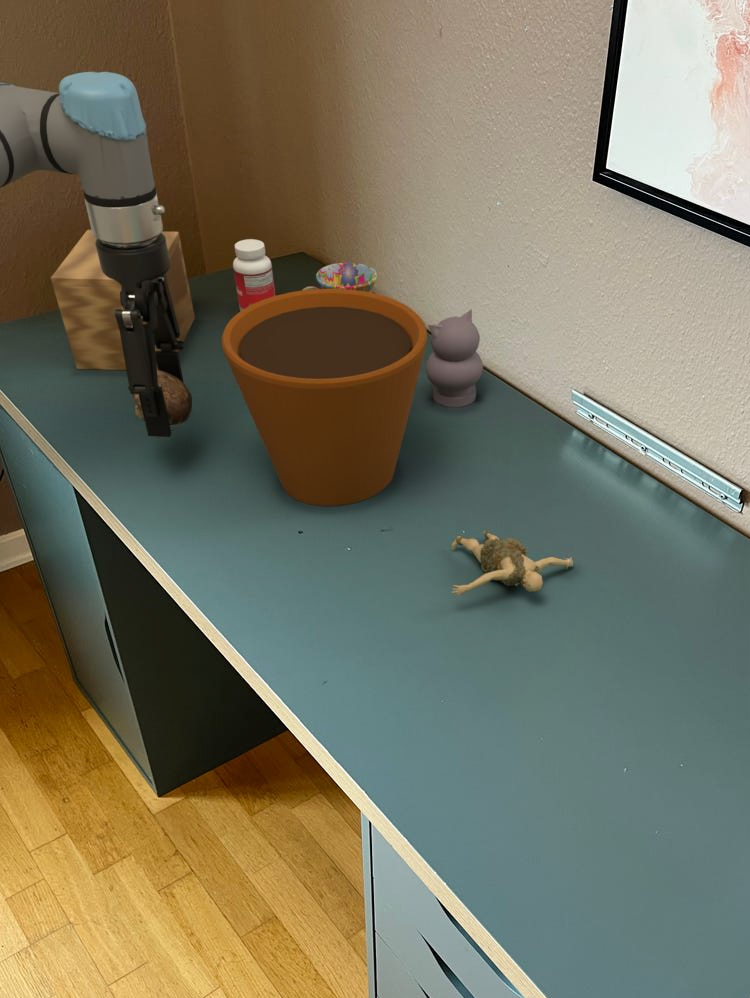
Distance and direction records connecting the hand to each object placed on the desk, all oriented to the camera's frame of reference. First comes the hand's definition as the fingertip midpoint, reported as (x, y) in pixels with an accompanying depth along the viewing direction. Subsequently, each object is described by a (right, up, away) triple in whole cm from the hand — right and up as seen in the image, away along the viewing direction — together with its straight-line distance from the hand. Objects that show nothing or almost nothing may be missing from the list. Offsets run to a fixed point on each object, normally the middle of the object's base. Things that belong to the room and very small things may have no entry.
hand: (168, 416), depth 121 cm
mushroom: (0, 0, 0) cm, 1 cm away
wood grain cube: (-14, +19, +29) cm, 37 cm away
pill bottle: (+3, +26, +38) cm, 47 cm away
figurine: (+42, -21, -10) cm, 48 cm away
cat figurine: (+36, +7, +20) cm, 42 cm away
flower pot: (+21, -7, +4) cm, 23 cm away
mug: (+18, +19, +31) cm, 41 cm away
